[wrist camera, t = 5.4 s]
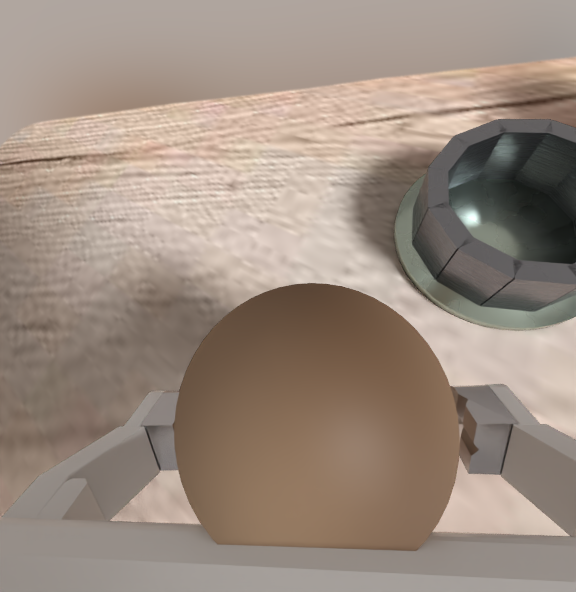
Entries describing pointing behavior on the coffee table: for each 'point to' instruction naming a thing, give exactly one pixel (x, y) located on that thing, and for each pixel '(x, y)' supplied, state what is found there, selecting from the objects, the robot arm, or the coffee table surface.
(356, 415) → the brown rounded cylinder
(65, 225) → the coffee table surface
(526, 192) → the cup holder
